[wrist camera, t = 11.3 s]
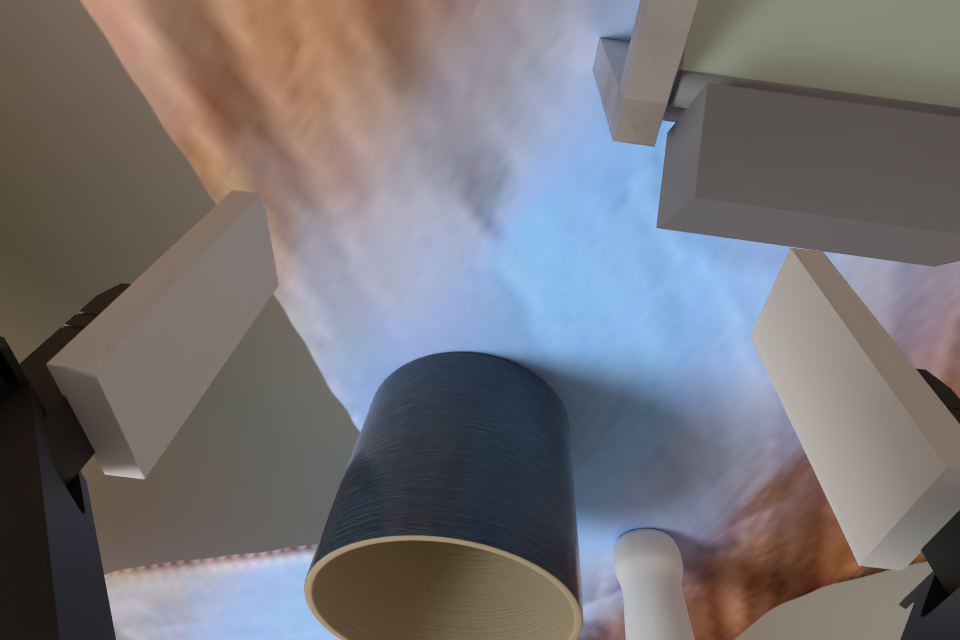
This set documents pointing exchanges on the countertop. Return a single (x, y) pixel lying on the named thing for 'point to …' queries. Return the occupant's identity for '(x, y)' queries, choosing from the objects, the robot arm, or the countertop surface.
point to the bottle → (651, 586)
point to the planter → (454, 512)
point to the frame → (643, 71)
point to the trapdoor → (819, 127)
